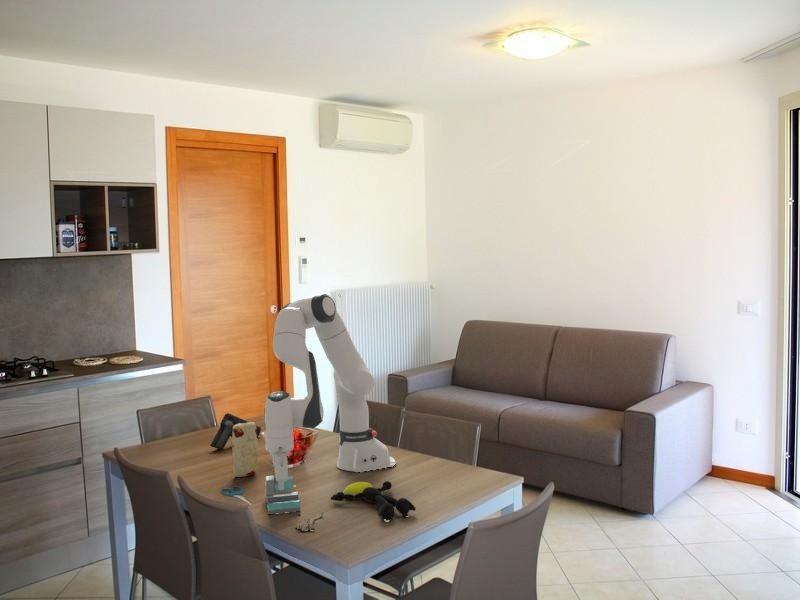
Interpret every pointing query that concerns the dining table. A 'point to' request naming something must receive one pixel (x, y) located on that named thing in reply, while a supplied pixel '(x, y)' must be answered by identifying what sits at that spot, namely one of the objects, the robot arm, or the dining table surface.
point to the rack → (283, 502)
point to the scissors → (235, 493)
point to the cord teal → (273, 485)
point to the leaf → (307, 525)
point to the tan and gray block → (277, 492)
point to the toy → (376, 498)
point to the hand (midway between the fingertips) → (280, 486)
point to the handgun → (227, 430)
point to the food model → (244, 449)
